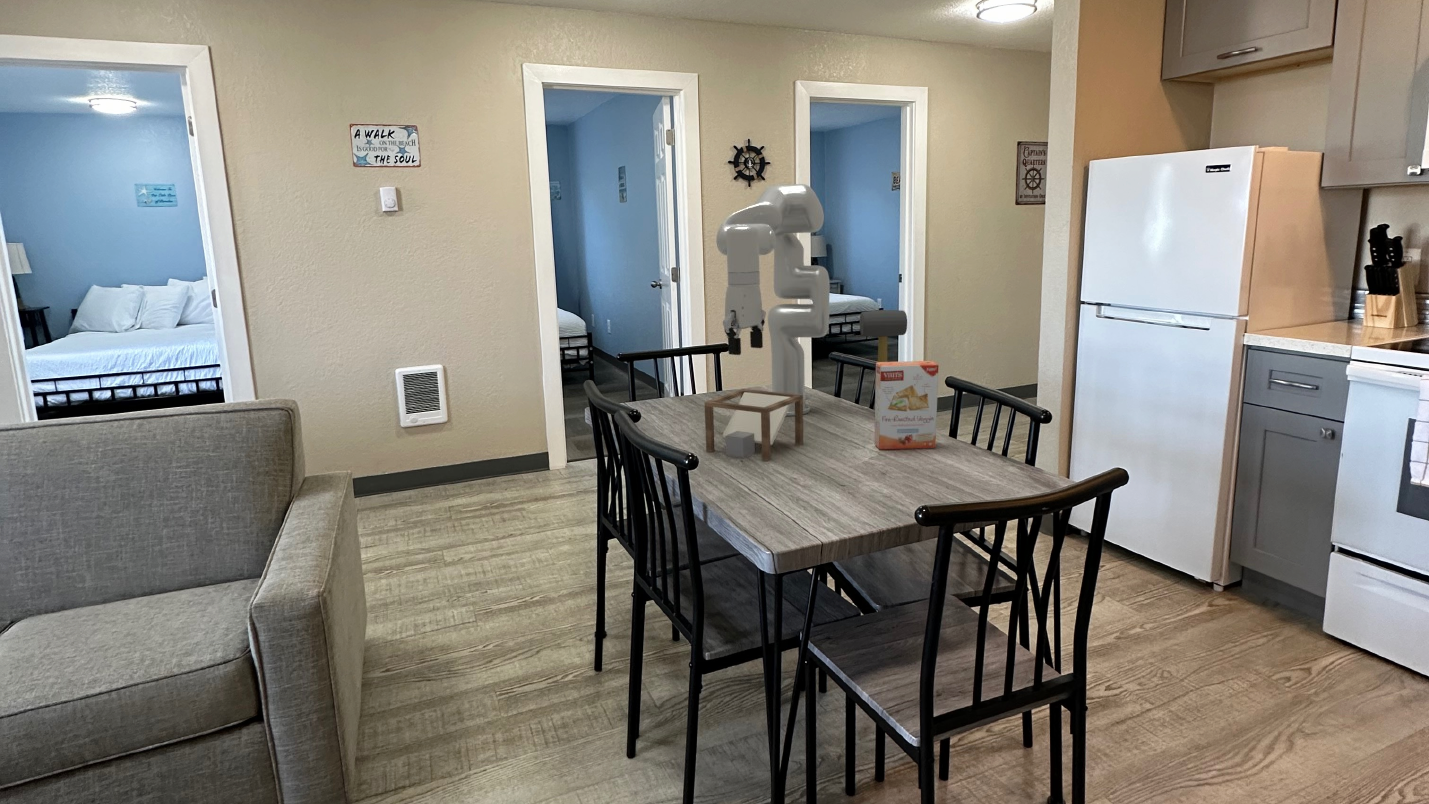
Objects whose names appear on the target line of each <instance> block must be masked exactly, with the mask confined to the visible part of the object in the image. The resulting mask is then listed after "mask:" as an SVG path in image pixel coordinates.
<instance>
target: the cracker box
mask: <svg viewBox="0 0 1429 804" xmlns="http://www.w3.org/2000/svg"><path fill="white" fill-rule="evenodd" d="M938 387H939V364H937V362H934V361H933V360H915V361H914V360H911V361H887V362H878V361H877V362H876V363H875V389H874V390H875V396H874V397H875V398H874V445H875V446H876V448H877V449H878V450H903V449H904V450H905V449H908V450H909V449H912V450H914V449H936V438H937V436H936V435H937V412H938V392H939V391H938V389H939V388H938Z"/></svg>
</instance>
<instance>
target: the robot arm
mask: <svg viewBox="0 0 1429 804" xmlns="http://www.w3.org/2000/svg"><path fill="white" fill-rule="evenodd" d="M824 221H825V217H824V209H823V206H822V204H821V202H820V199H819V198H818V196H817V194H816V192H815V191H814V190H813V188H812V187H811V186H809V185H808V184H806V183H793V184H777V185H776V184H774V185H771V186H768V187H767V188H765V189H764V190H763V191H762V192H761V194H760V195H759V197H758V199H757V201H756V202H755V203H754V204H752V205H750V206H747V207H745V208H743V209H740V210H738V211H735V212H733V213H732V214H731V213H730V215H728V216H727V217H725V218H724V220H723V221H722V223H721V224H720V226H719V228H718V230H717V234H716V240H715V241H716V247H717V249H718V252H720V253H721V254H722V255H723V256H726V266H727V267H726V268H727V269H726V270H727V286H726V292H725V301H724V302H725V303H724V319H723V321H722V326H723V328H724V332H725V334H726V335H725V336H726V338H727V347H728V348H727V351H728V354H729V355H734V356H741V354H742V346H741V345H742V341H741V337H740V334H741V332H742V330H744V329H749V328H750V330H751V331H749V338H750V341H749V342H750V347H751V348H752V349H762V348H764V347H763V343H764V342H763V339H764V338H763V332H764V325H765V322H766V321H765V318H766V315H767V326H768V331H769V337H770V346H771V347H770V348H771V387H772V388H771V392H778V393H788V394H798V395H803V415H805V414H806V415H807V414H808V413H810V412H811V406H810V405H808V404H805V403H806V401H808V400H810V398H811V395H810V394H809V393H808V392H807V393H806V392H805V389H806V386H805V385H806V384H805V381H806V379H805V350H804V348H803V347H802V345H801V344H800V342H799V341H798V338H821V337H825V336H826V335H827V334H828V331H829V325H830V291H831V290H830V289H831V288H830V275H829V272H828V270H827V269H826V268H825V267H824V266H823V265H805V263H804V260H805V257H804V255H805V254H804V253H805V248H804V246H803V243H801V241H800V240H799V238H798V237H797V236H796V235H795V234H796V233H797V234H800V233H801V234H803V233H805V234H809V233H817V232H818V231H819V230H821V229H822V227H823V226H824V225H823V224H824ZM771 252H773V291H774V295H775V296H776V297H777V298H779V299H783V300H811V302H812V303H809V304H808V303H806V304H805V303H802V304H801V303H781V304H777V305H774V306H773V307H771V308H770V309H769V311H768V314H766V311H765V310H764V309H763V301H762V293H761V288H760V287H761V286H760V284H761V281H760V280H761V278H760V277H761V276H760V275H761V274H760V256H766V255H768V254H770V253H771ZM787 416H789V417H790V416H794V417H795V402H794V403H792V404H791V405H790V407H789V410H788V412H787V414H786V416H785V417H787Z"/></svg>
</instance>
